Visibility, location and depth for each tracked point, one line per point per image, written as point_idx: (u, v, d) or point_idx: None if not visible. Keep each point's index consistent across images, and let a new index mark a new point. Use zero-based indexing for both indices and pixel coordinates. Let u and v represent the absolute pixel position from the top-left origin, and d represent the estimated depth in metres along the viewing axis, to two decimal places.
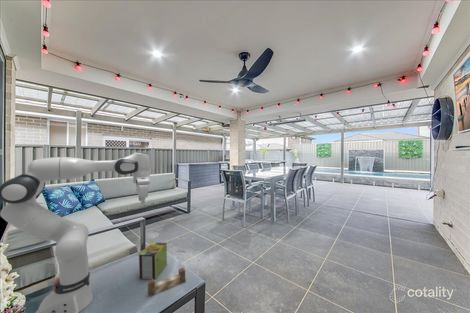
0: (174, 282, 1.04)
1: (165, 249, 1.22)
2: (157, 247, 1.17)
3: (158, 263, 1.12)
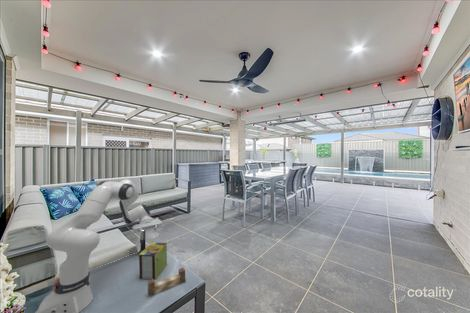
0: (174, 282, 1.04)
1: (165, 249, 1.22)
2: (157, 247, 1.17)
3: (158, 263, 1.12)
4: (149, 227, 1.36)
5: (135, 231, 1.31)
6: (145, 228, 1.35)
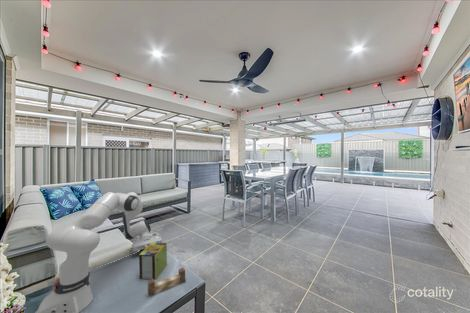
0: (174, 282, 1.04)
1: (165, 249, 1.22)
2: (157, 247, 1.17)
3: (158, 263, 1.12)
4: None
5: (135, 249, 1.31)
6: None
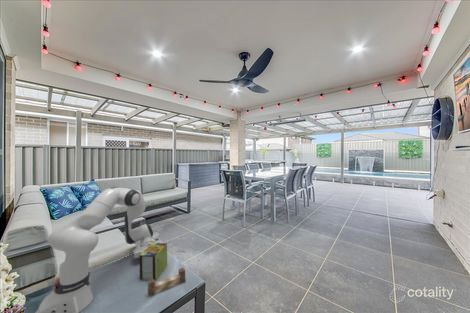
0: (174, 282, 1.04)
1: (165, 249, 1.21)
2: (157, 248, 1.16)
3: (158, 263, 1.12)
4: None
5: (136, 256, 1.23)
6: None
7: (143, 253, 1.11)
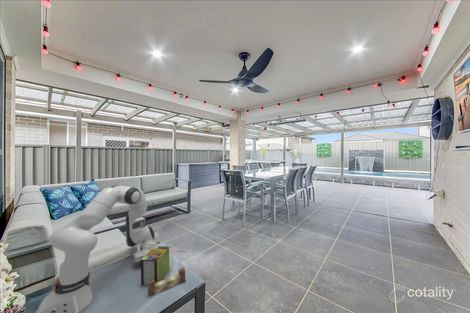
0: (174, 282, 1.04)
1: (167, 253, 1.17)
2: (159, 252, 1.12)
3: (160, 268, 1.07)
4: None
5: (137, 260, 1.18)
6: None
7: (144, 257, 1.06)
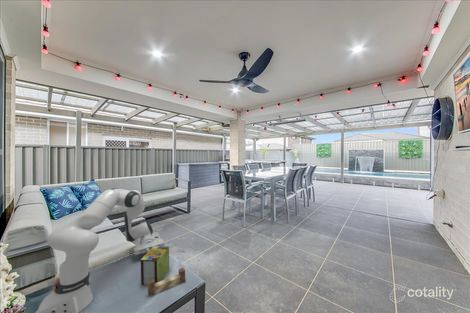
0: (174, 282, 1.04)
1: (167, 253, 1.17)
2: (159, 252, 1.12)
3: (160, 268, 1.07)
4: (151, 248, 1.31)
5: (136, 253, 1.26)
6: None
7: (144, 257, 1.06)
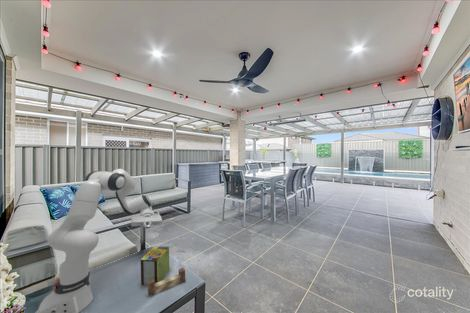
0: (174, 282, 1.04)
1: (167, 253, 1.17)
2: (159, 252, 1.12)
3: (160, 268, 1.07)
4: (148, 223, 1.30)
5: (133, 224, 1.25)
6: None
7: (144, 257, 1.06)
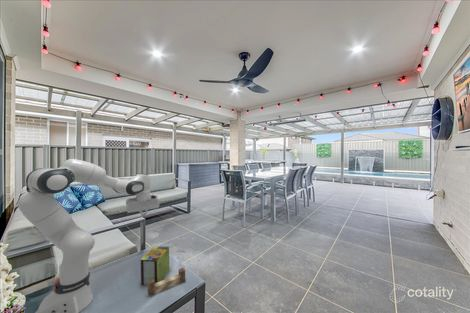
0: (174, 282, 1.04)
1: (167, 253, 1.17)
2: (159, 252, 1.12)
3: (160, 268, 1.07)
4: None
5: None
6: None
7: (144, 257, 1.06)
